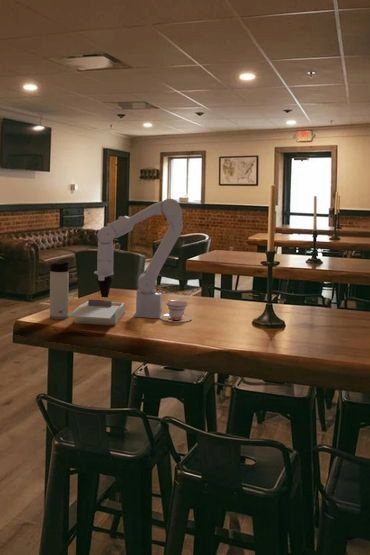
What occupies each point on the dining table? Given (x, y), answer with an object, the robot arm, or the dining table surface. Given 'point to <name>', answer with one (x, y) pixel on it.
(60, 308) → the travel mug
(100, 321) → the box
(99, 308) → the lid
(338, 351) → the dining table surface
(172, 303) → the teacup
